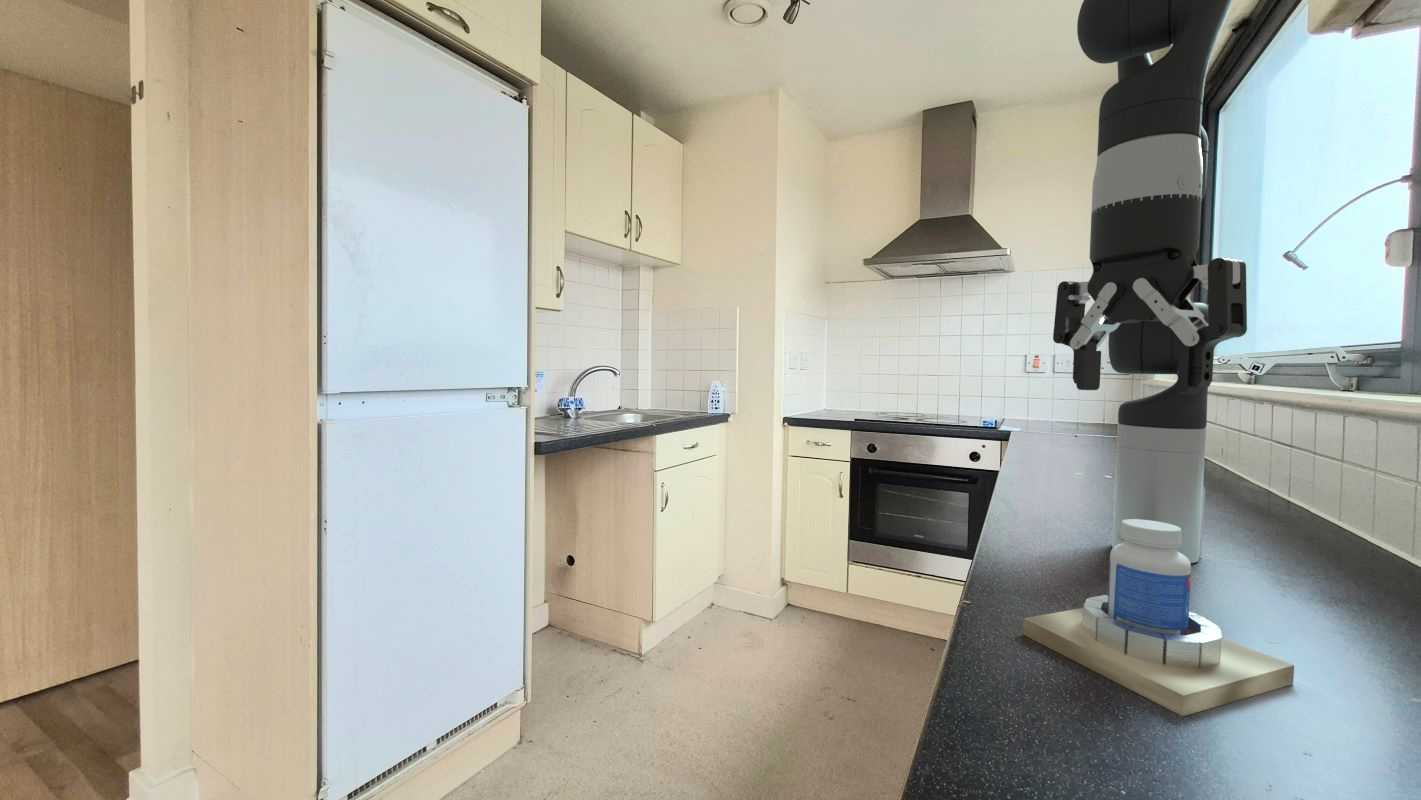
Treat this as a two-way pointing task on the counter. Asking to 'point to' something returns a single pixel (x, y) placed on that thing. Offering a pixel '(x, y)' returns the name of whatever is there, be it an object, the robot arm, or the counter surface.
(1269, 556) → the counter surface
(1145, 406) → the robot arm
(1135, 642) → the steel collar
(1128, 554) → the pill bottle
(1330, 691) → the counter surface
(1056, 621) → the carrier plate
